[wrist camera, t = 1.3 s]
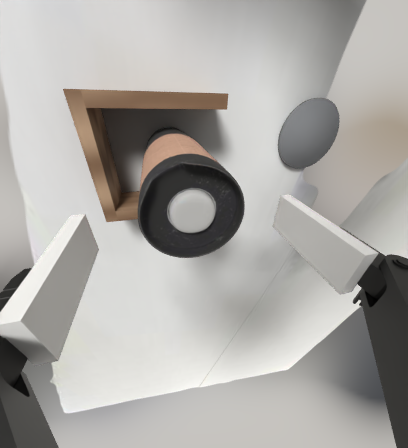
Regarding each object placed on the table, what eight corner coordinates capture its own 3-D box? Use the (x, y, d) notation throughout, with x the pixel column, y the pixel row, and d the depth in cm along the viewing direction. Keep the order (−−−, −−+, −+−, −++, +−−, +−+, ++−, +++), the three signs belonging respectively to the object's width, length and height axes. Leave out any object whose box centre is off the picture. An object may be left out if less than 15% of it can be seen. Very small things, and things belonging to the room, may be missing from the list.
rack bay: (83, 91, 23) (62, 88, 17) (212, 95, 26) (228, 93, 21) (114, 201, 31) (106, 222, 26) (209, 193, 34) (219, 210, 29)
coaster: (287, 97, 28) (290, 97, 28) (345, 99, 31) (350, 98, 30) (271, 168, 34) (274, 170, 34) (321, 165, 37) (324, 166, 36)
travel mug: (186, 181, 32) (222, 263, 16) (140, 169, 29) (126, 254, 13) (201, 135, 28) (266, 180, 12) (150, 116, 26) (148, 142, 9)
